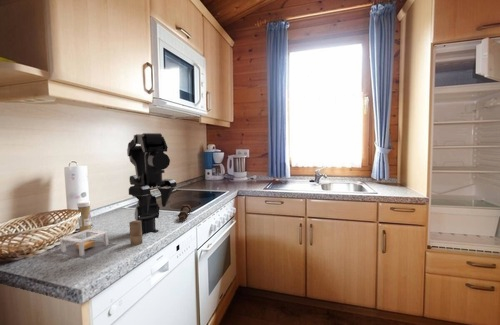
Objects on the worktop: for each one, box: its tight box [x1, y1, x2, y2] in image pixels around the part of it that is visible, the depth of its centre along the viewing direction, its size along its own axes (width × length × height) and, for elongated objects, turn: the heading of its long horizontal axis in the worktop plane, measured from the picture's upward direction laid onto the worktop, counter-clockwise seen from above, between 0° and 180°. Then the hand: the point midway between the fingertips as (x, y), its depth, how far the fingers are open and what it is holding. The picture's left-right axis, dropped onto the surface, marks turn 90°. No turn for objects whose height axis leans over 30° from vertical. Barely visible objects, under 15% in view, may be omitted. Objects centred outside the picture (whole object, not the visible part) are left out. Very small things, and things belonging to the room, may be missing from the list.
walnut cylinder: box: [129, 220, 144, 247], centre depth 91 cm, size 4×4×9 cm
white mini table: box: [52, 228, 118, 260], centre depth 88 cm, size 12×16×6 cm
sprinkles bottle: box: [76, 200, 92, 232], centre depth 106 cm, size 5×5×14 cm
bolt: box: [177, 204, 192, 222], centre depth 126 cm, size 6×5×15 cm
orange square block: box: [76, 239, 96, 250], centre depth 88 cm, size 4×4×2 cm
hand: (155, 209), depth 92 cm, fingers open, 9 cm apart
